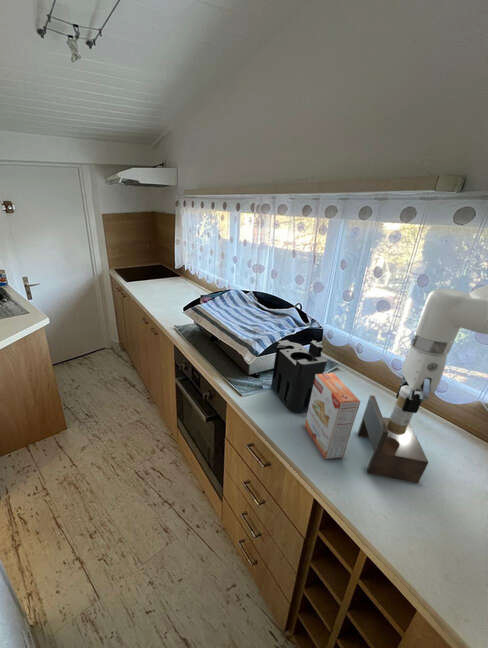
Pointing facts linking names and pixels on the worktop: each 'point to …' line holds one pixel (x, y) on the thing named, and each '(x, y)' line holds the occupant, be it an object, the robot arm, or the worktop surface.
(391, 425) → the sprinkles bottle
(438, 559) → the worktop surface
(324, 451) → the cracker box
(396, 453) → the spice shelf
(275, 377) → the black machined bracket
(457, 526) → the worktop surface
